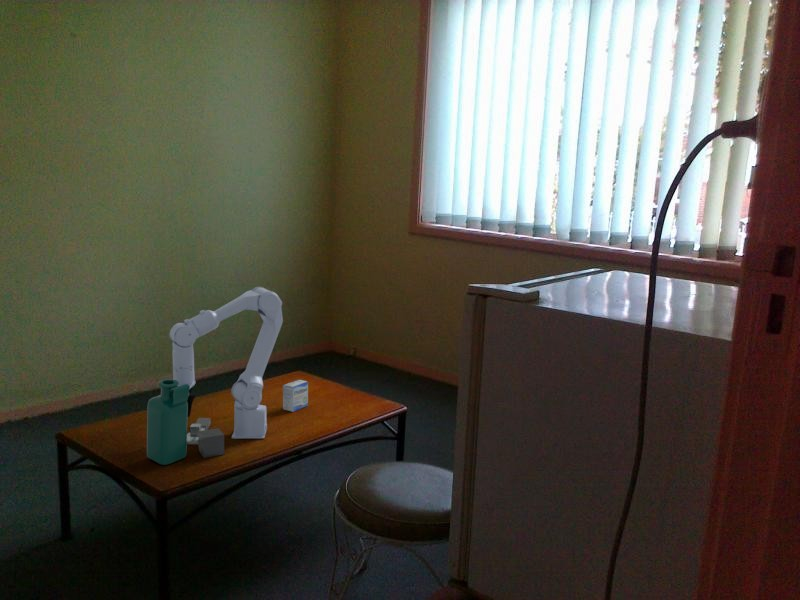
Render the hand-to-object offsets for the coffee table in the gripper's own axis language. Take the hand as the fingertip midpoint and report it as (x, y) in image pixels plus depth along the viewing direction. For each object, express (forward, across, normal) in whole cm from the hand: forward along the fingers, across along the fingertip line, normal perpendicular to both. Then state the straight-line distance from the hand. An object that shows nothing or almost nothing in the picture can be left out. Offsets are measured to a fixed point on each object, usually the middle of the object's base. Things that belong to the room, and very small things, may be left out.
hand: (185, 412), depth 201 cm
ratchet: (+10, -8, +4) cm, 13 cm away
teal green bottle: (+9, +9, -5) cm, 14 cm away
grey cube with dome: (+10, +8, +6) cm, 14 cm away
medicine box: (+10, -24, +36) cm, 44 cm away
